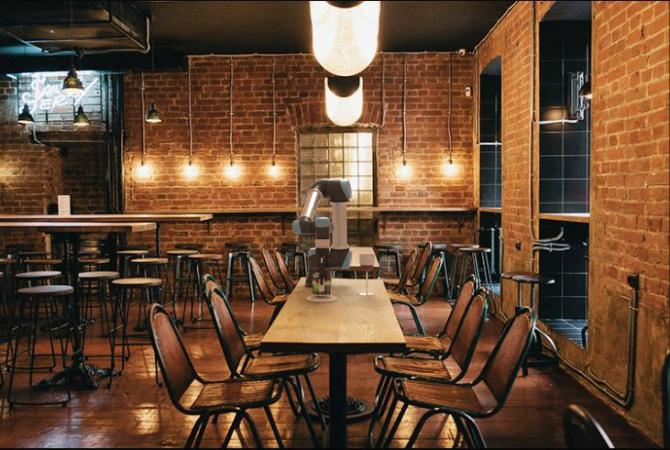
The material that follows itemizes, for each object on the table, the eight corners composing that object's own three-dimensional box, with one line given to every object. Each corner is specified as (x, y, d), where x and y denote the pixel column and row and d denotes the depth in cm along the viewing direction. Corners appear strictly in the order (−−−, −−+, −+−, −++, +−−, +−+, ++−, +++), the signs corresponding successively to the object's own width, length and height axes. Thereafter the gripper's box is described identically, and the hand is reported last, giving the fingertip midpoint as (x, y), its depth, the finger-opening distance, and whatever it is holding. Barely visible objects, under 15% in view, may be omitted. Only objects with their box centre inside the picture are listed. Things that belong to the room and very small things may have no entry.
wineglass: (374, 292, 337) (375, 253, 336) (374, 295, 327) (374, 255, 326) (359, 292, 338) (359, 253, 337) (358, 295, 328) (358, 255, 327)
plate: (307, 296, 321) (307, 294, 321) (337, 297, 321) (337, 294, 321) (305, 302, 305) (305, 299, 305) (336, 302, 305) (336, 299, 305)
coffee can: (325, 297, 306) (326, 269, 305) (308, 295, 311) (308, 268, 310) (335, 294, 315) (335, 267, 314) (318, 292, 320) (318, 266, 319)
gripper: (316, 245, 323) (316, 286, 324) (313, 249, 301) (313, 293, 302) (330, 245, 323) (329, 286, 324) (328, 249, 300) (328, 293, 301)
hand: (322, 289), depth 313 cm, fingers closed on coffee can, 10 cm apart
